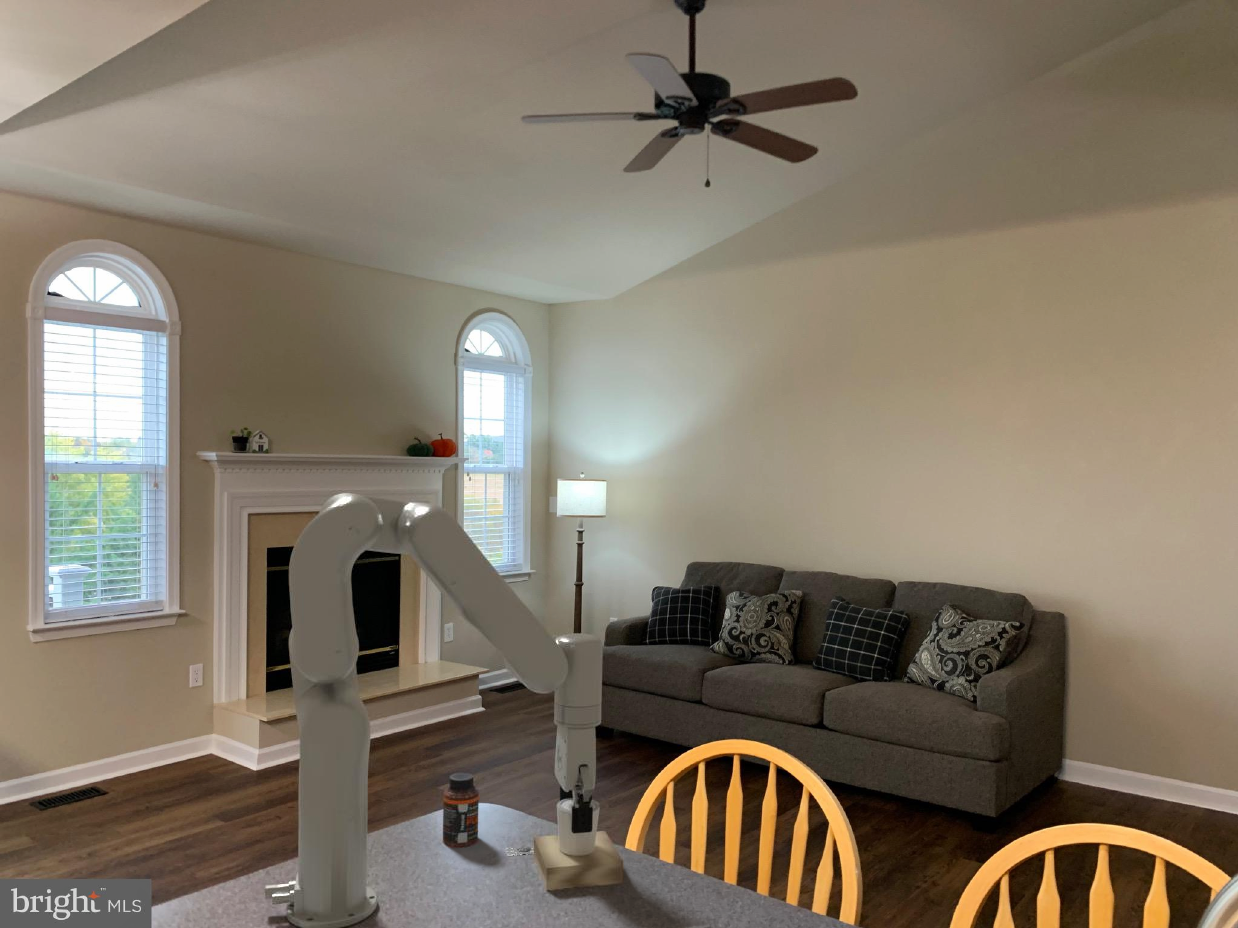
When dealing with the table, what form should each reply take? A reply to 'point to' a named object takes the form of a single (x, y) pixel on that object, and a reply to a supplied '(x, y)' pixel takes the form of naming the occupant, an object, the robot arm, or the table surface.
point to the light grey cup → (575, 841)
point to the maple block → (577, 864)
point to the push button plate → (521, 850)
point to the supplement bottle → (460, 811)
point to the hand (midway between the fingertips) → (575, 820)
